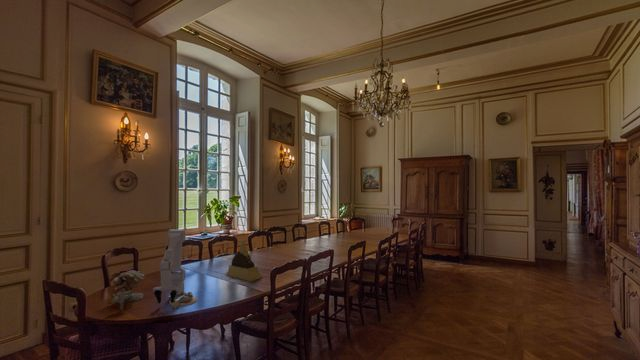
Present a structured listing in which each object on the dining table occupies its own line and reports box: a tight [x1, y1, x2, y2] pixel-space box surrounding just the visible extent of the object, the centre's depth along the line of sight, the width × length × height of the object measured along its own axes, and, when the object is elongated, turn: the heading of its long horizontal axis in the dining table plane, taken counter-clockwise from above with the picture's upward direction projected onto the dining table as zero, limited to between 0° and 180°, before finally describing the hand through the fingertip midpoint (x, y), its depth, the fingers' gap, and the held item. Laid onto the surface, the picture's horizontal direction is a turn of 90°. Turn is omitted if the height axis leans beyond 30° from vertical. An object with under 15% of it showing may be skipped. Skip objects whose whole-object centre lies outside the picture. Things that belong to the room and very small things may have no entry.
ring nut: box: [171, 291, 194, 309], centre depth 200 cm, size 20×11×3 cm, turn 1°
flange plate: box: [169, 295, 198, 307], centre depth 205 cm, size 16×16×1 cm
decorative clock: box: [225, 239, 263, 282], centre depth 262 cm, size 28×13×30 cm, turn 55°
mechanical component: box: [111, 290, 133, 311], centre depth 191 cm, size 3×10×10 cm, turn 134°
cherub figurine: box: [109, 270, 145, 304], centre depth 211 cm, size 18×18×18 cm
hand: (165, 303), depth 196 cm, fingers open, 7 cm apart
